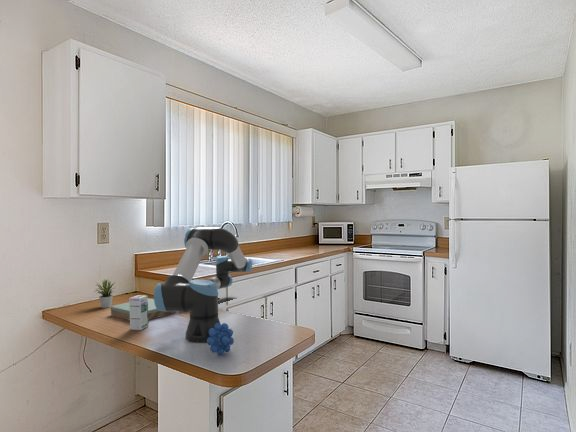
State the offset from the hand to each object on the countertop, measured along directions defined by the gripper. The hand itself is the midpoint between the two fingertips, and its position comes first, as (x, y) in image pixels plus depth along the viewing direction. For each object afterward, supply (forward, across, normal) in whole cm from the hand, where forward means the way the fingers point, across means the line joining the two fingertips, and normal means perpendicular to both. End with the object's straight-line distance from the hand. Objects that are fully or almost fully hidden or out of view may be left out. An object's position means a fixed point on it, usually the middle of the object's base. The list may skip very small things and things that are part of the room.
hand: (178, 291), depth 196 cm
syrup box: (+30, -10, -10) cm, 33 cm away
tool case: (+15, +10, -10) cm, 20 cm away
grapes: (+34, -66, -10) cm, 75 cm away
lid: (+14, +10, -7) cm, 19 cm away
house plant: (+17, +43, -10) cm, 48 cm away
